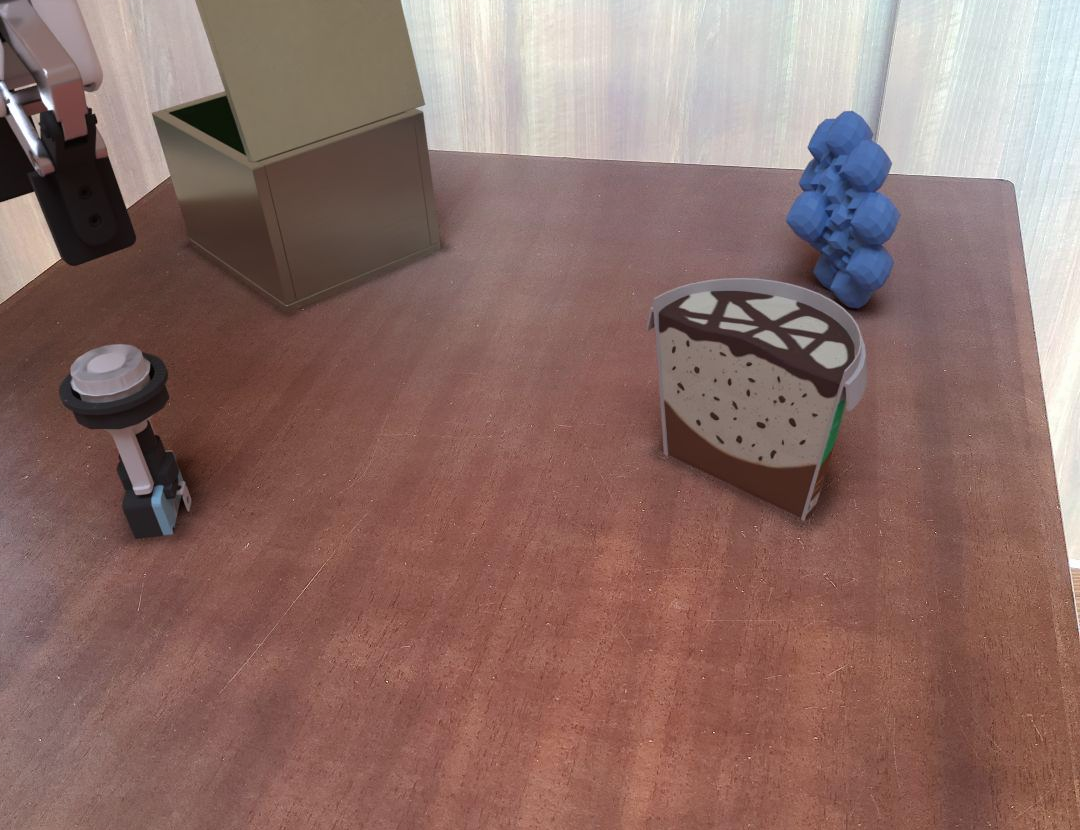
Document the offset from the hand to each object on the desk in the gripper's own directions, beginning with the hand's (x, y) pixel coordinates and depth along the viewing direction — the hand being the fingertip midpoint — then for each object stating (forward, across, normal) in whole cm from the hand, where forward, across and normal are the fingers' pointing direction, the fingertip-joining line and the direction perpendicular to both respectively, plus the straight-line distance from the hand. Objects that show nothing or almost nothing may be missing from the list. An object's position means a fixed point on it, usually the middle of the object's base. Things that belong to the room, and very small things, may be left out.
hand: (60, 221), depth 48 cm
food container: (+18, -21, -27) cm, 38 cm away
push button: (+17, 0, 0) cm, 17 cm away
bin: (+17, +22, -23) cm, 36 cm away
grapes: (+18, -11, -45) cm, 49 cm away
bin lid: (-2, +16, -23) cm, 28 cm away
